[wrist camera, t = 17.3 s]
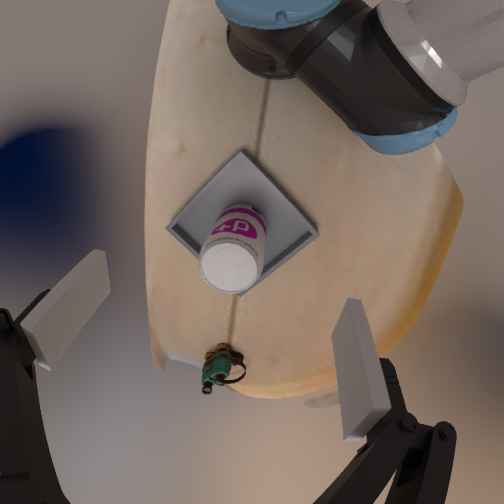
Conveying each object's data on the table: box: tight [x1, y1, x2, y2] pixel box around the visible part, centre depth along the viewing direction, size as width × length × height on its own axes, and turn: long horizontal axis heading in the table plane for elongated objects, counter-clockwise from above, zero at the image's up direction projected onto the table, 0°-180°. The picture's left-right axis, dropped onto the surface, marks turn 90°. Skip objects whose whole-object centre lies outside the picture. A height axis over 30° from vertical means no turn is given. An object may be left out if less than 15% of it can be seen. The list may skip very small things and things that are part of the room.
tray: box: [165, 149, 320, 297], centre depth 48 cm, size 18×18×4 cm
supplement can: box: [199, 203, 267, 293], centre depth 42 cm, size 8×8×15 cm
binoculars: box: [202, 343, 246, 394], centre depth 60 cm, size 9×11×10 cm
